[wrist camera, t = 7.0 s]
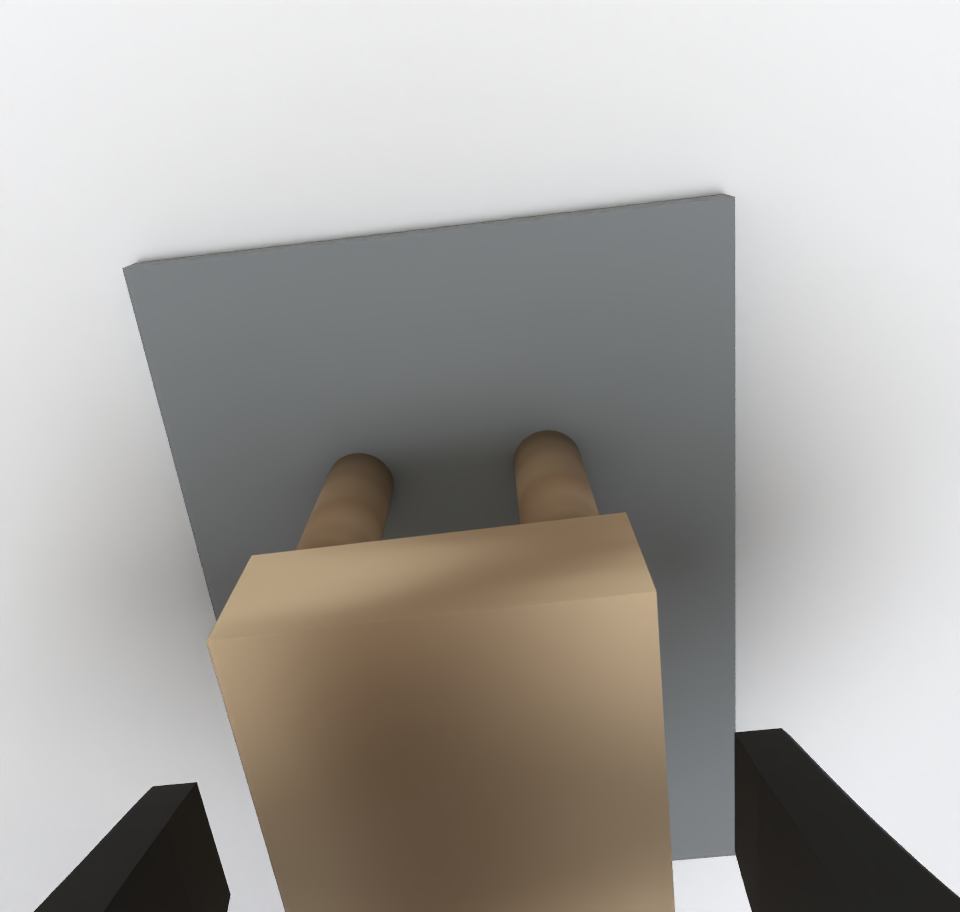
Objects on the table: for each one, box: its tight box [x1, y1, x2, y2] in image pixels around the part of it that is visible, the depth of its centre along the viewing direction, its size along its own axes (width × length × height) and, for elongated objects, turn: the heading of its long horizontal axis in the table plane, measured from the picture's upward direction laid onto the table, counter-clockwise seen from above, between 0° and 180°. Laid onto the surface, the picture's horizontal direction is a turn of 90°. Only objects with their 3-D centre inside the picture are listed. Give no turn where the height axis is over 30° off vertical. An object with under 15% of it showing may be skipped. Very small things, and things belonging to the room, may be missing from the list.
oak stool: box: [206, 430, 675, 912], centre depth 13 cm, size 5×7×6 cm
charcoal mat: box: [122, 194, 735, 861], centre depth 16 cm, size 14×10×1 cm
